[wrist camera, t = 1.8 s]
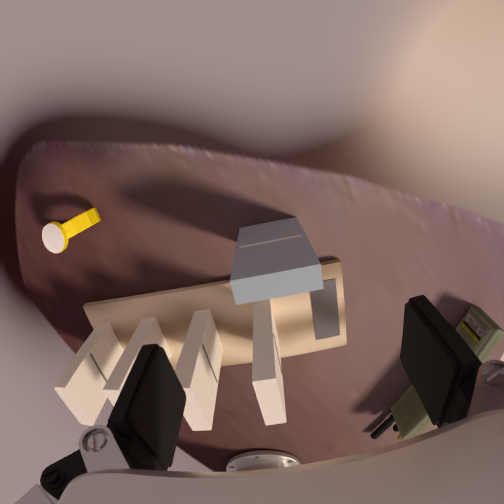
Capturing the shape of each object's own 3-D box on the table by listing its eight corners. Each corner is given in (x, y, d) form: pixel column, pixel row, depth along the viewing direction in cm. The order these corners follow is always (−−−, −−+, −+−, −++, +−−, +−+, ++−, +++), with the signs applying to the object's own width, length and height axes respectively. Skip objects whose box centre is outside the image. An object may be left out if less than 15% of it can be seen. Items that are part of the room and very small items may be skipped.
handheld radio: (481, 308, 31) (379, 432, 39) (469, 300, 31) (364, 429, 39) (508, 334, 25) (388, 463, 33) (496, 327, 24) (372, 462, 32)
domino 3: (210, 308, 29) (190, 387, 19) (223, 349, 31) (211, 430, 21) (194, 311, 30) (168, 389, 19) (208, 350, 31) (192, 430, 21)
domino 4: (299, 234, 28) (323, 289, 17) (243, 244, 28) (236, 305, 18) (296, 216, 27) (320, 262, 17) (239, 227, 27) (229, 280, 17)
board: (344, 340, 32) (346, 345, 31) (119, 369, 34) (116, 373, 33) (338, 258, 28) (341, 262, 27) (85, 303, 31) (82, 306, 30)
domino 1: (109, 322, 30) (65, 387, 20) (127, 358, 32) (93, 426, 22) (98, 323, 31) (52, 386, 20) (116, 358, 32) (80, 424, 22)
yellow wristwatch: (73, 241, 28) (40, 263, 23) (63, 218, 28) (27, 237, 22) (112, 221, 27) (79, 242, 22) (101, 196, 26) (65, 212, 21)
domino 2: (156, 316, 30) (119, 389, 20) (172, 354, 32) (146, 430, 21) (142, 318, 30) (102, 389, 20) (158, 355, 32) (130, 429, 22)
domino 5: (270, 298, 29) (276, 378, 19) (279, 340, 31) (287, 422, 20) (253, 301, 29) (251, 381, 19) (263, 343, 31) (265, 425, 21)
